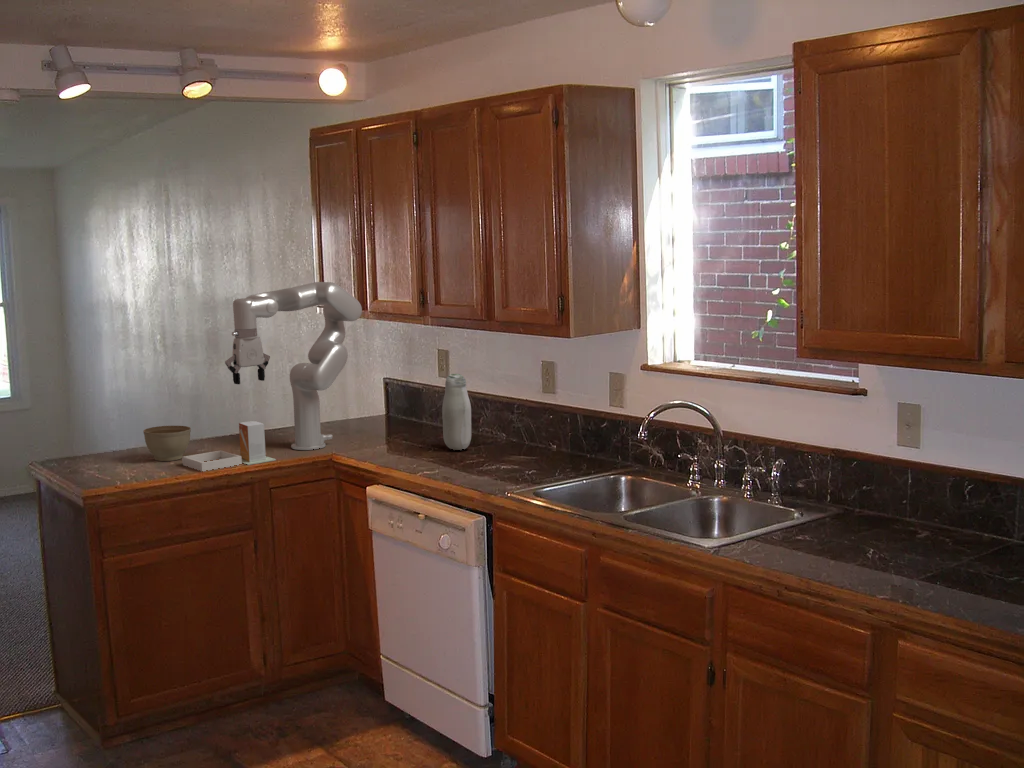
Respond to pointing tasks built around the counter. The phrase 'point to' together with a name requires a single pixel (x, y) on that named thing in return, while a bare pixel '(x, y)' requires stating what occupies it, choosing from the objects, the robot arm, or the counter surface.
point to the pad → (258, 461)
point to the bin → (199, 464)
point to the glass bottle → (456, 413)
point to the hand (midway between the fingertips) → (249, 382)
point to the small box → (252, 441)
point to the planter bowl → (167, 441)
